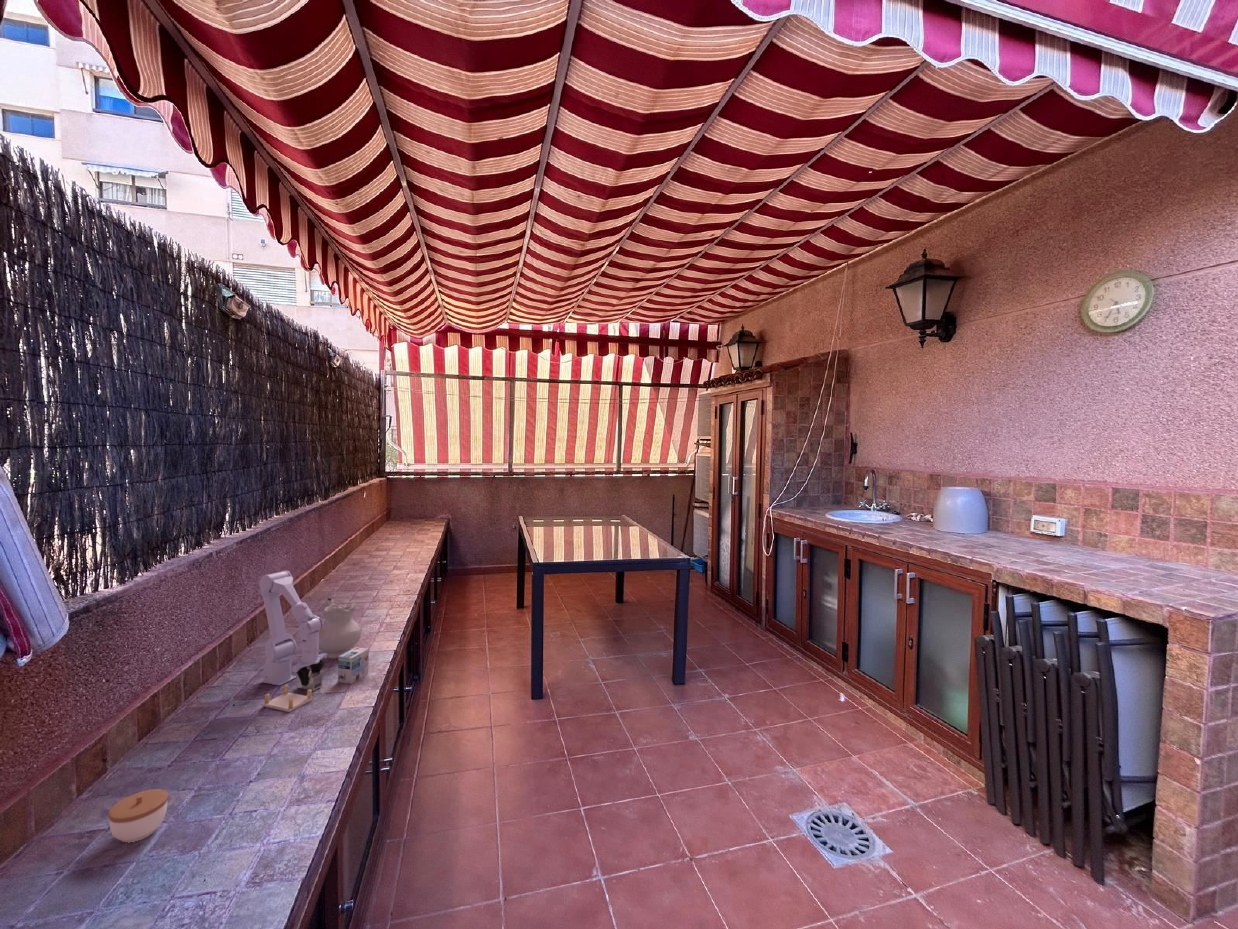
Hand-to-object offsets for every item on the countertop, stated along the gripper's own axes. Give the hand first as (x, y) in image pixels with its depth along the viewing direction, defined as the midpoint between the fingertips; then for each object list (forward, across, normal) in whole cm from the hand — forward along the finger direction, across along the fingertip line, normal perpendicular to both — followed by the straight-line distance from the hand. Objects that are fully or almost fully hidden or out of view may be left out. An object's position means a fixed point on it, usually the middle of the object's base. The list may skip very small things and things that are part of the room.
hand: (309, 682), depth 204 cm
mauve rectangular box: (+2, 0, 0) cm, 2 cm away
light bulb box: (+2, +13, -9) cm, 16 cm away
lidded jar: (+2, -73, -26) cm, 78 cm away
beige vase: (+2, +31, +18) cm, 36 cm away
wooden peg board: (+2, -12, -3) cm, 13 cm away
